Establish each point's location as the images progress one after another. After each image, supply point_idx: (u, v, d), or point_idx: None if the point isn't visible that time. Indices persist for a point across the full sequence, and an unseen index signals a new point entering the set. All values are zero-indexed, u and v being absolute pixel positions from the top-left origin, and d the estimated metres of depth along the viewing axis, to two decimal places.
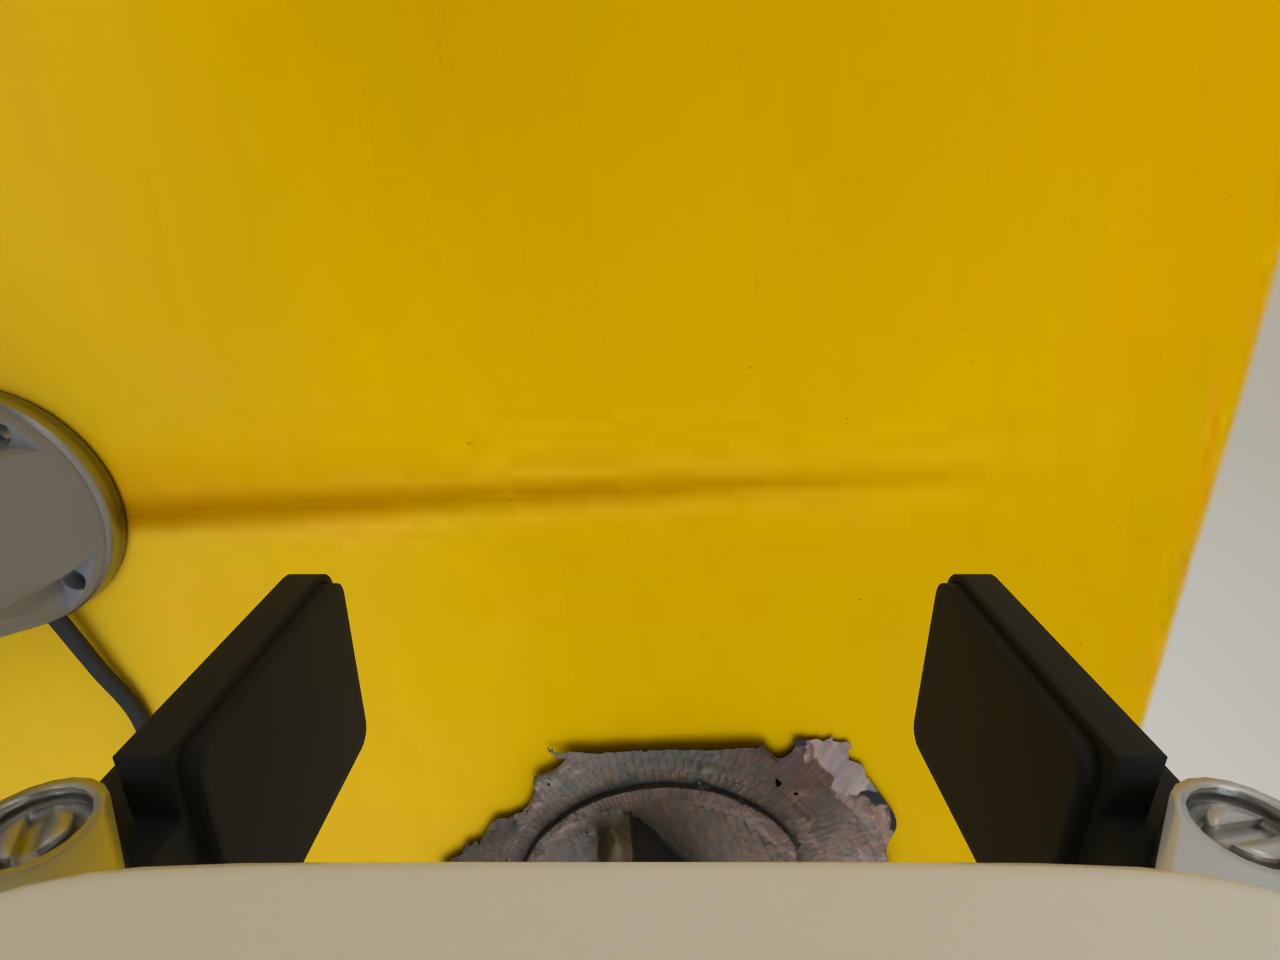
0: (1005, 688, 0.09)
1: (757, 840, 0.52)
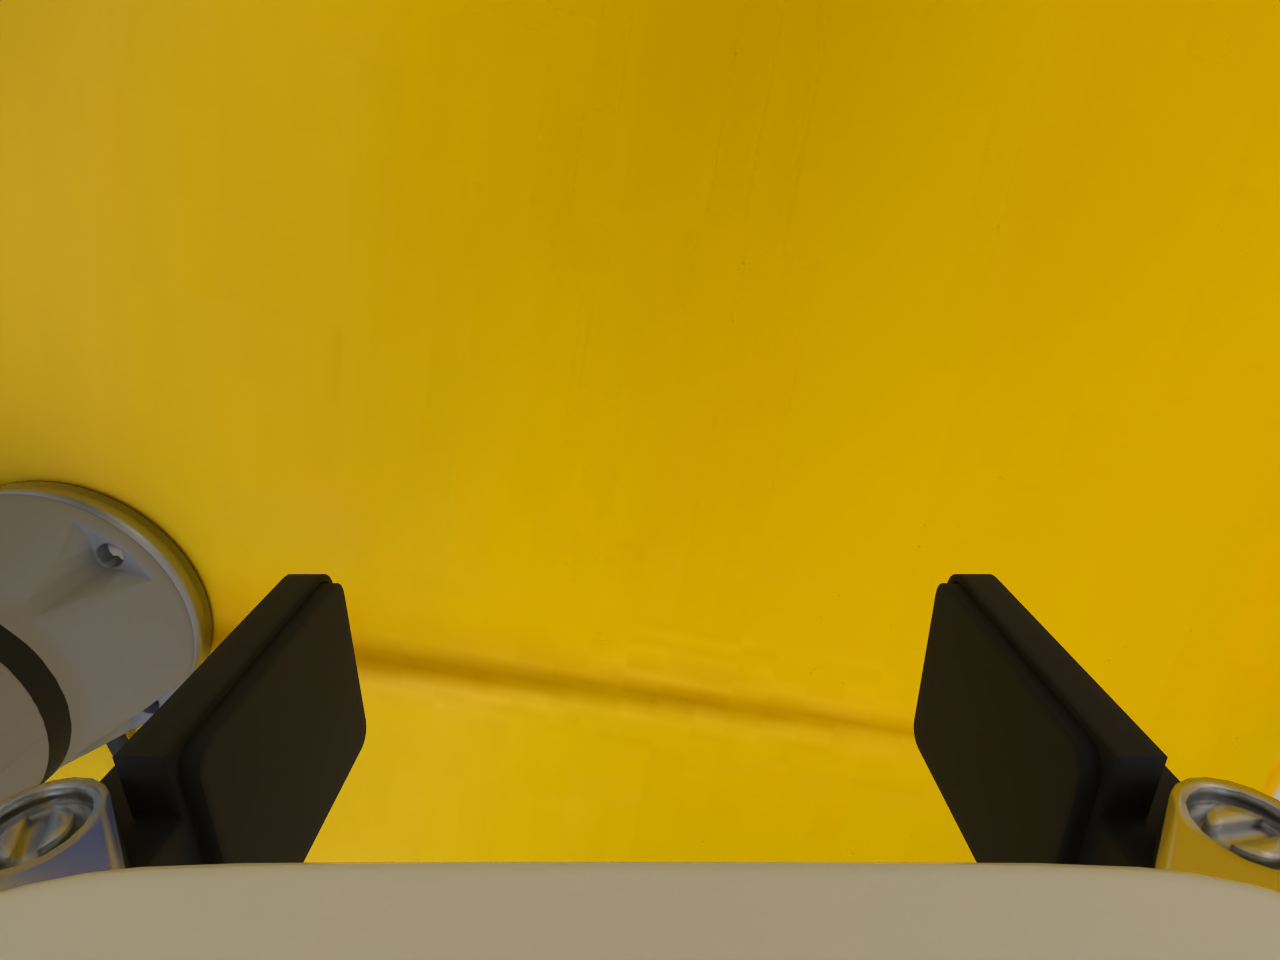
0: (1005, 688, 0.09)
1: None
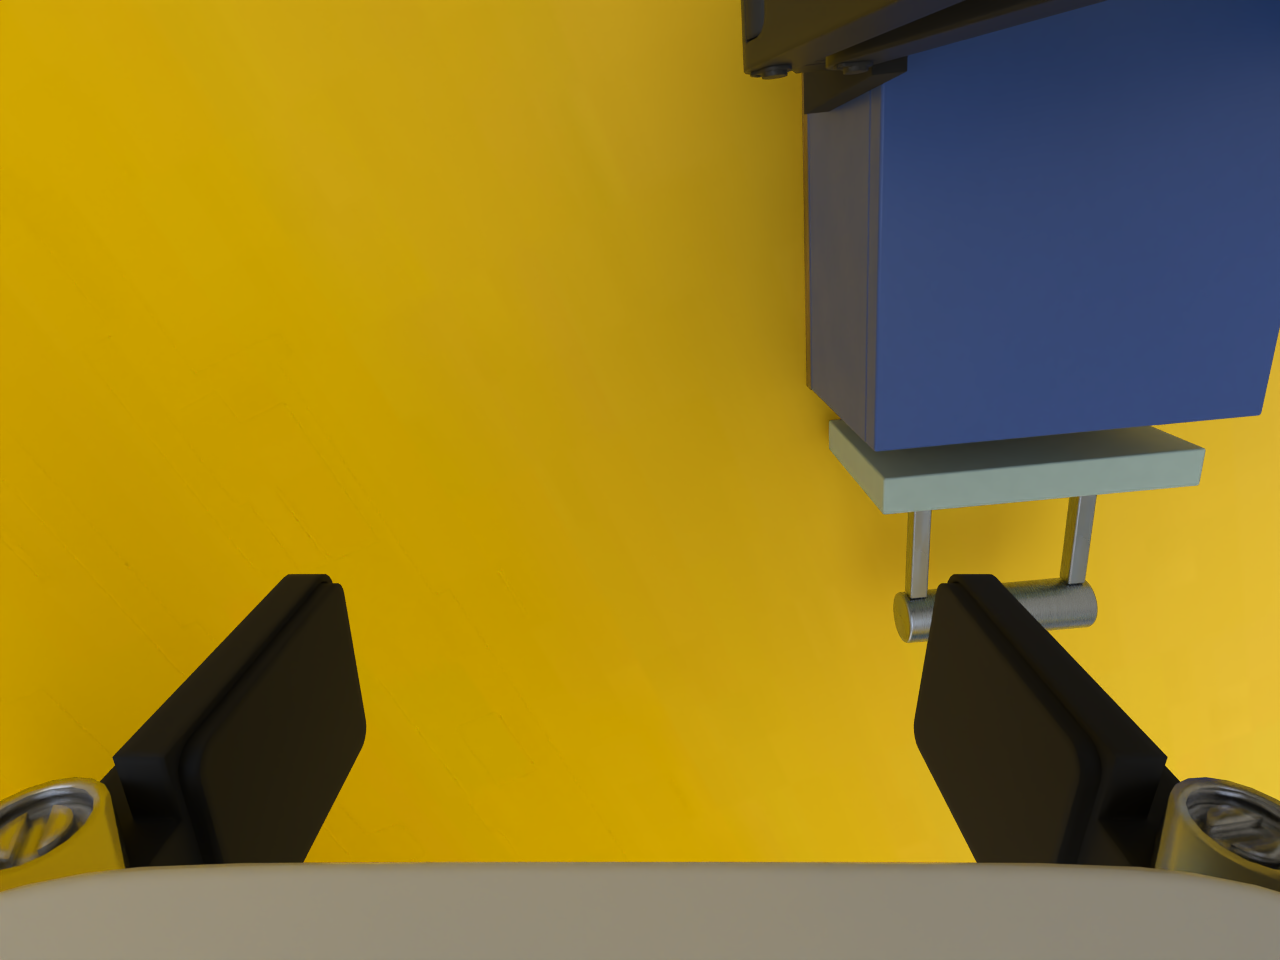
0: (1005, 688, 0.09)
1: None
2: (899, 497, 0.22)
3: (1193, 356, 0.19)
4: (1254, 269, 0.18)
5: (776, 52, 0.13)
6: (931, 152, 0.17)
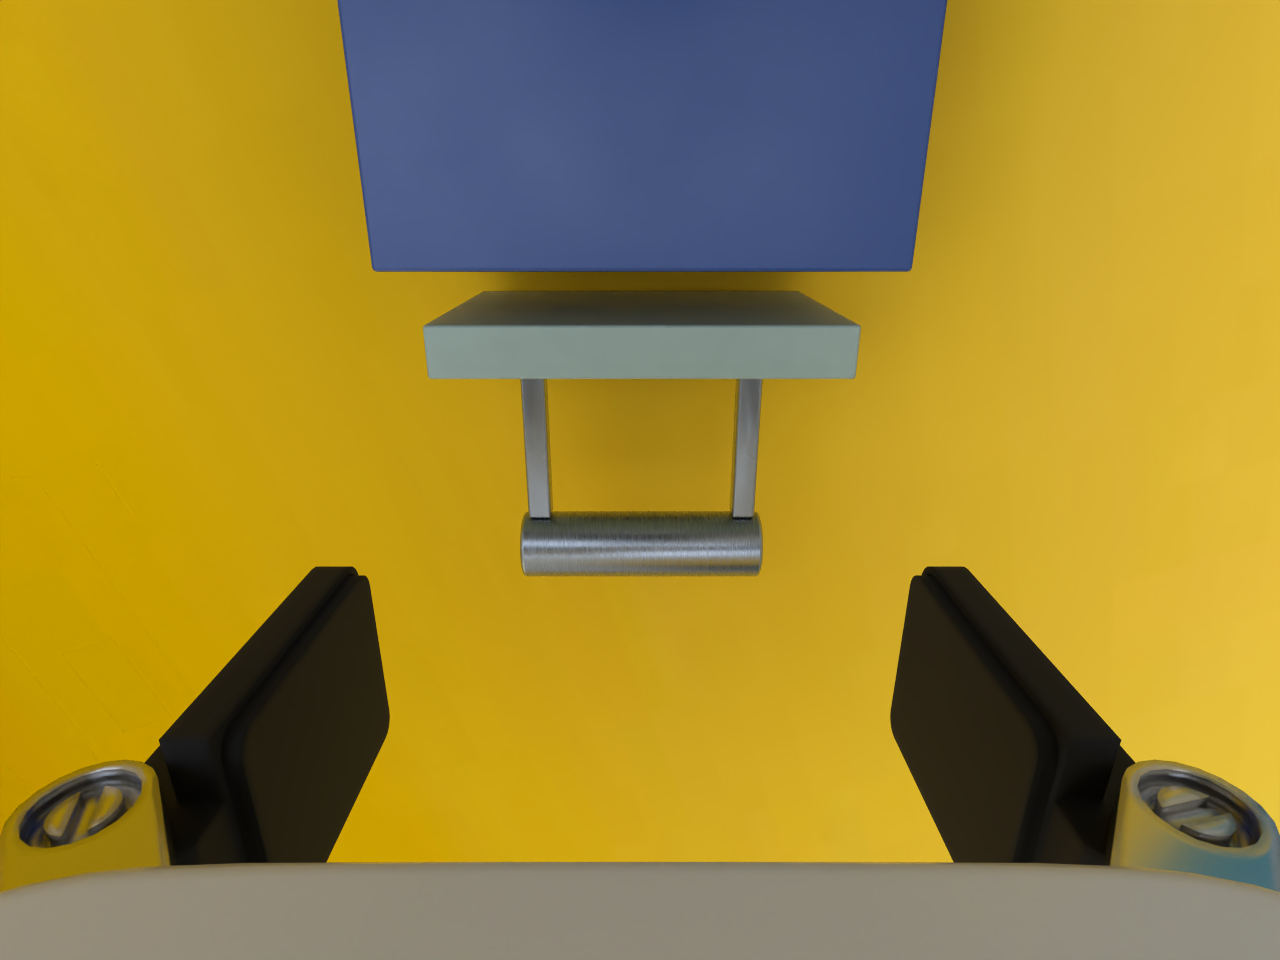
0: (971, 676, 0.09)
1: None
2: (446, 355, 0.16)
3: (809, 168, 0.14)
4: (886, 36, 0.13)
5: None
6: None
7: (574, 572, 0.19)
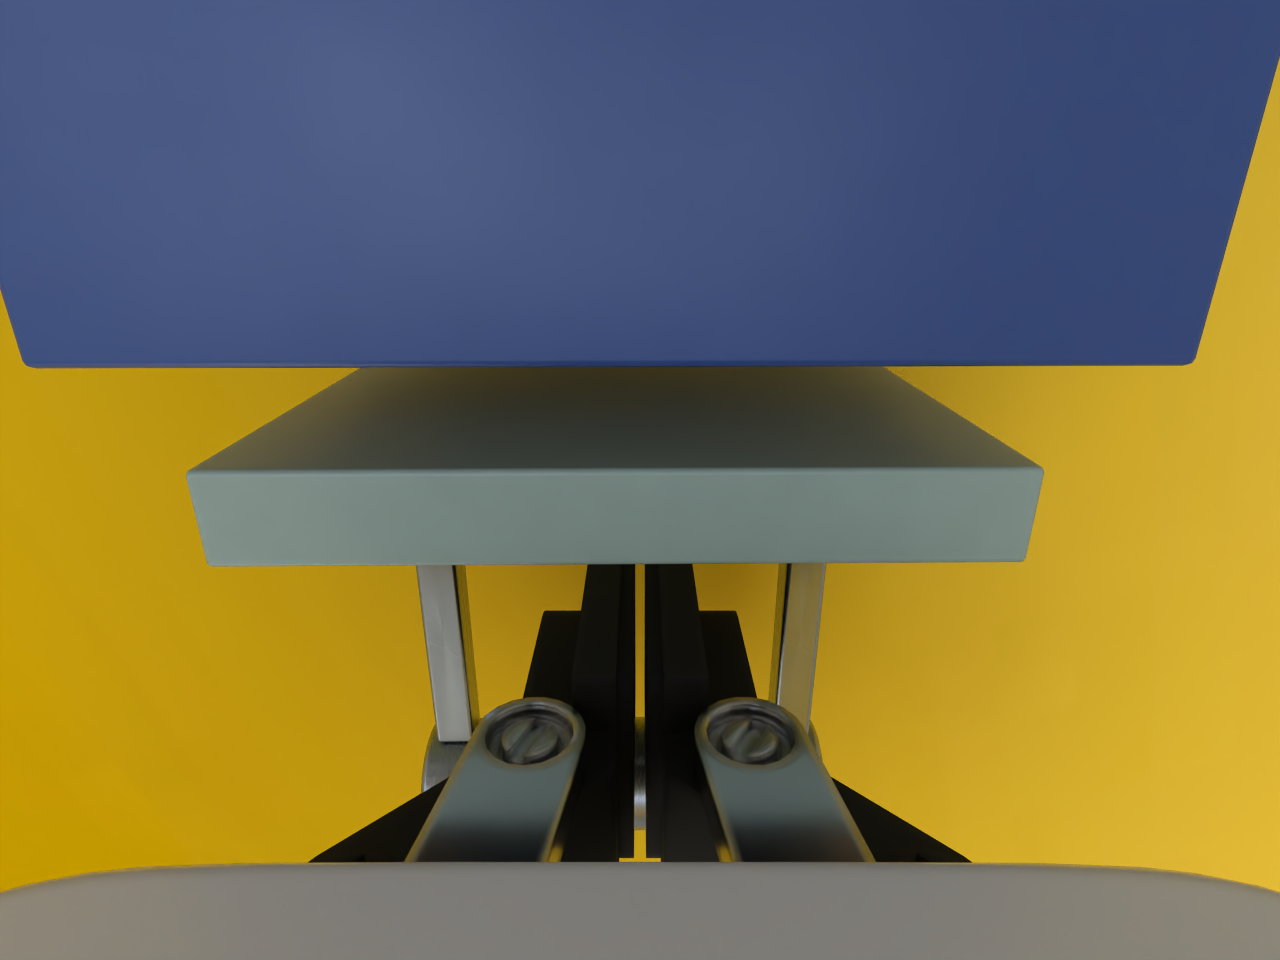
0: None
1: None
2: (238, 525, 0.08)
3: (996, 141, 0.06)
4: None
5: None
6: None
7: None
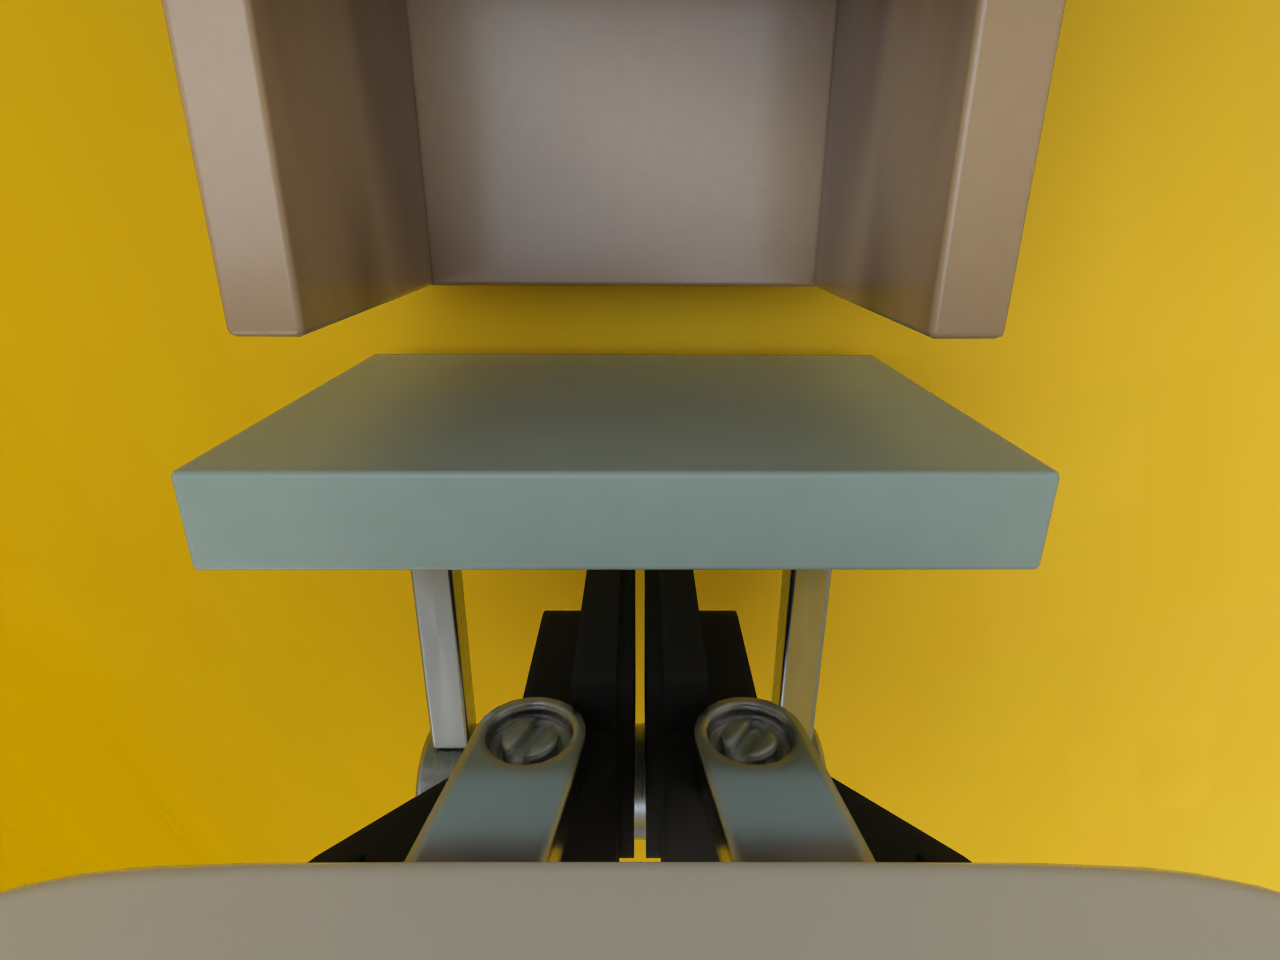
0: None
1: None
2: (225, 528, 0.08)
3: None
4: None
5: None
6: None
7: None
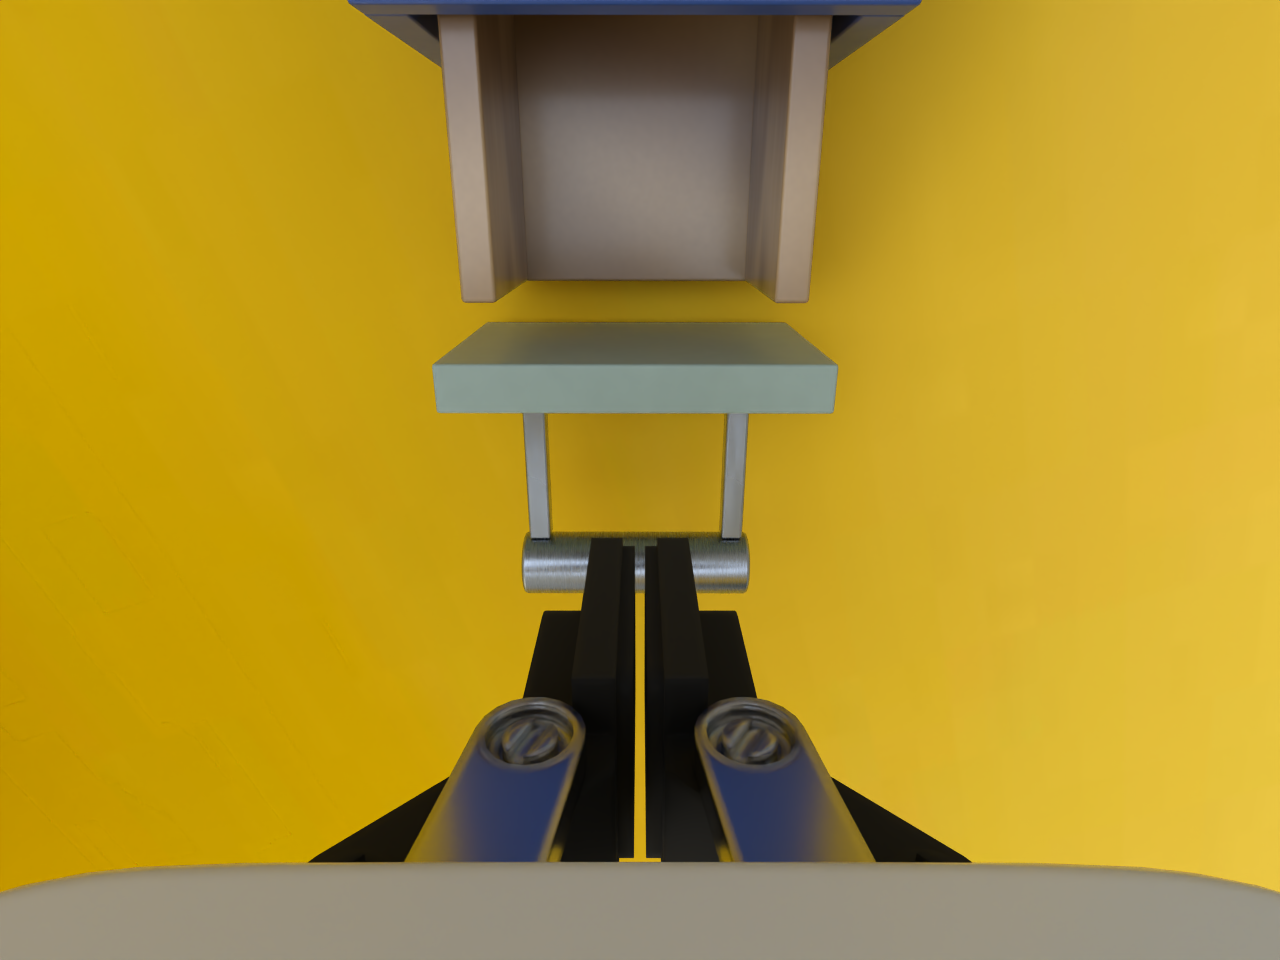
0: None
1: None
2: (454, 391, 0.17)
3: None
4: None
5: None
6: None
7: (572, 589, 0.21)
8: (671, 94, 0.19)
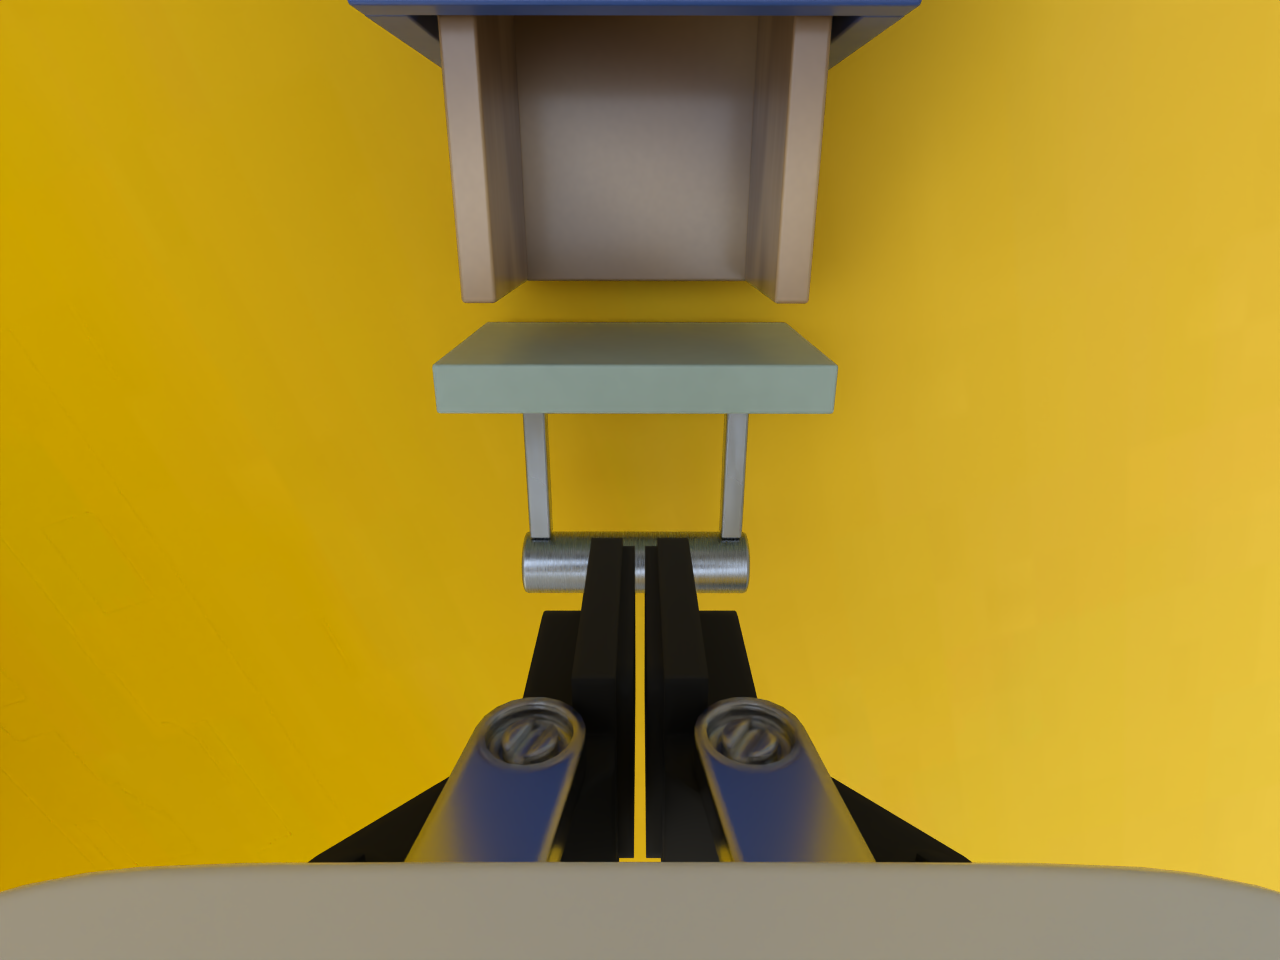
0: None
1: None
2: (454, 391, 0.17)
3: None
4: None
5: None
6: None
7: (572, 589, 0.21)
8: (671, 94, 0.19)
